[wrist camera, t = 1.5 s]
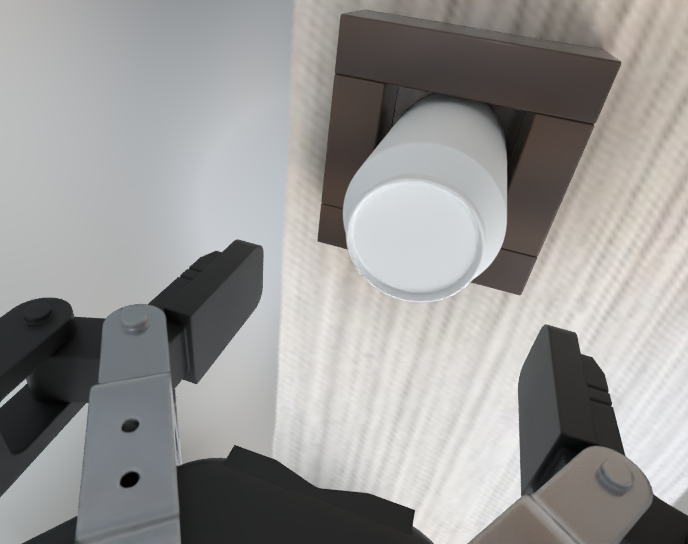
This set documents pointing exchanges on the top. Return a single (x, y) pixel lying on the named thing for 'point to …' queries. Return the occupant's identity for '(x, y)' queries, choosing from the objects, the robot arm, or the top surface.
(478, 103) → the beverage can
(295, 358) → the top surface
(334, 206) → the can stand
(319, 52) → the top surface
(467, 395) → the top surface
